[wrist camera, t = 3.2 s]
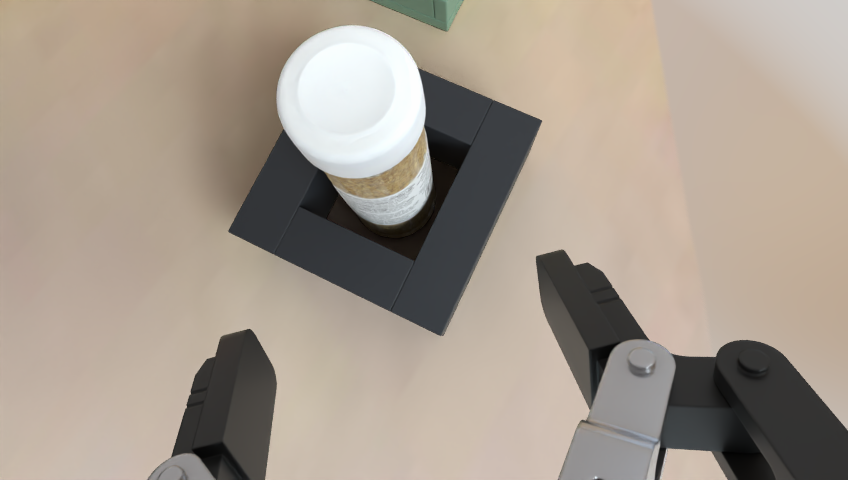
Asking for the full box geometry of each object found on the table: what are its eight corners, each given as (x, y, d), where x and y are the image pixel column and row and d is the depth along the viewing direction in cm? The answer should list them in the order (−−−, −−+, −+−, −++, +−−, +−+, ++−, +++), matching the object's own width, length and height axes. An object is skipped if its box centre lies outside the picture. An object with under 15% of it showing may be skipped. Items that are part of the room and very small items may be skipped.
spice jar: (366, 152, 30) (295, 6, 17) (445, 169, 29) (437, 33, 16) (345, 230, 29) (253, 143, 16) (426, 249, 29) (401, 175, 15)
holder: (261, 247, 29) (227, 231, 25) (352, 76, 31) (335, 33, 26) (443, 336, 28) (440, 336, 23) (529, 152, 29) (542, 120, 25)
